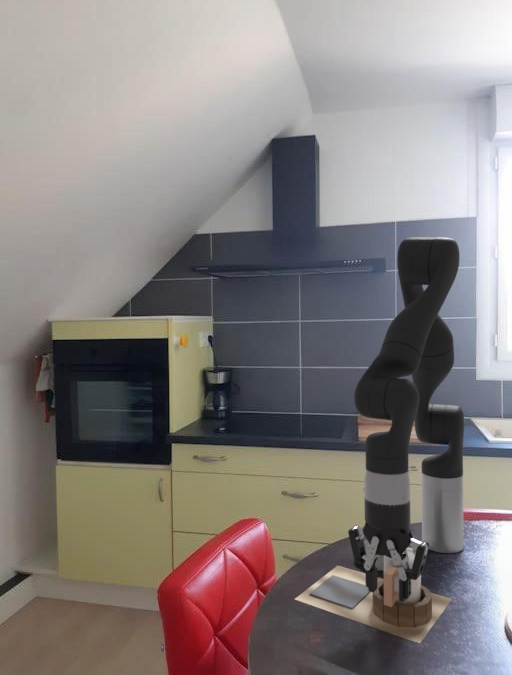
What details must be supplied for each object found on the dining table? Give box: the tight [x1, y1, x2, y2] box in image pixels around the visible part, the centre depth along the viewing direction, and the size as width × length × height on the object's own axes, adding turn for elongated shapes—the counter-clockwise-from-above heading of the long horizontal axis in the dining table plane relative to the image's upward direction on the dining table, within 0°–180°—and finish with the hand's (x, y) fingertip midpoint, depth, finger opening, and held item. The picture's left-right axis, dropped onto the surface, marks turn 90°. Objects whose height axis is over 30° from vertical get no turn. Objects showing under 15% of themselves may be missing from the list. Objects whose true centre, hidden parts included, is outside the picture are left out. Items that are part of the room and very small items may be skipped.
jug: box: [383, 547, 422, 607], centre depth 96 cm, size 11×6×10 cm, turn 144°
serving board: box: [294, 565, 453, 645], centre depth 101 cm, size 17×24×5 cm
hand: (387, 594), depth 92 cm, fingers open, 5 cm apart
